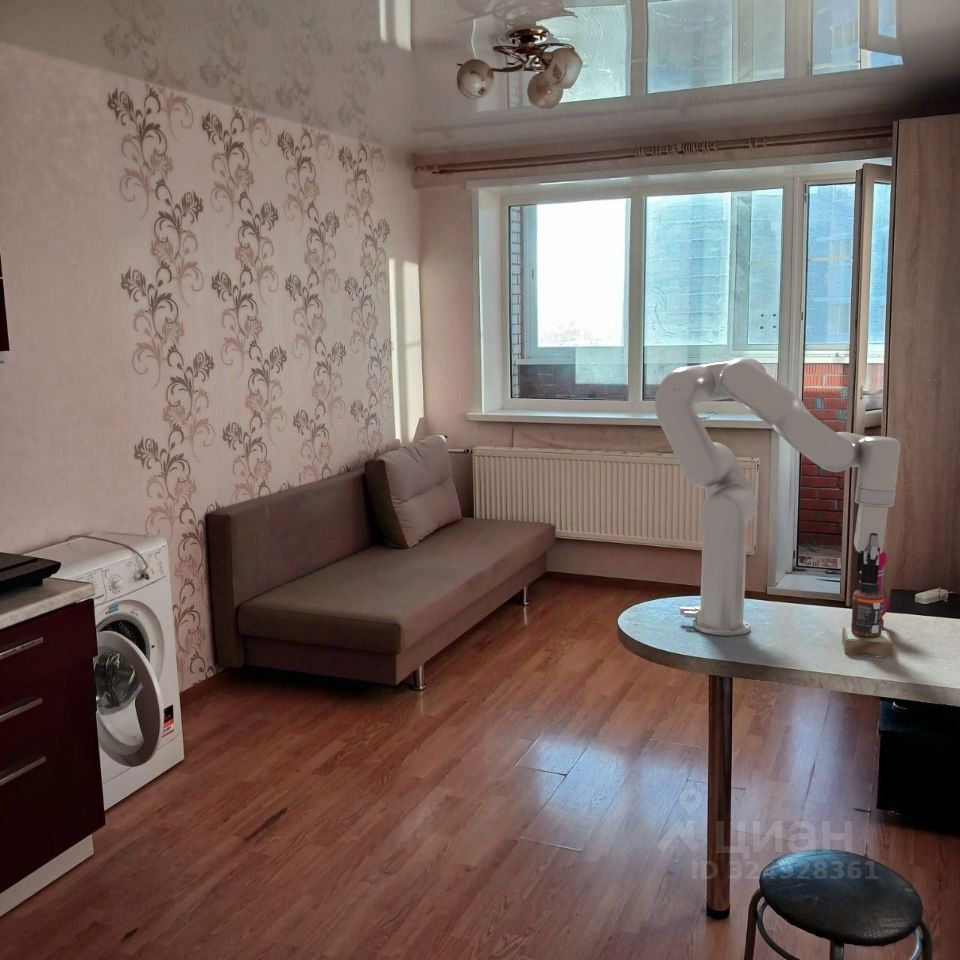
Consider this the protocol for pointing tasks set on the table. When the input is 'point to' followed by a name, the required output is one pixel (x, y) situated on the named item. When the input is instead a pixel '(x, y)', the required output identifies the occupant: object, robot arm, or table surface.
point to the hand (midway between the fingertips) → (866, 577)
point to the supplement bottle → (867, 610)
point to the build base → (867, 644)
